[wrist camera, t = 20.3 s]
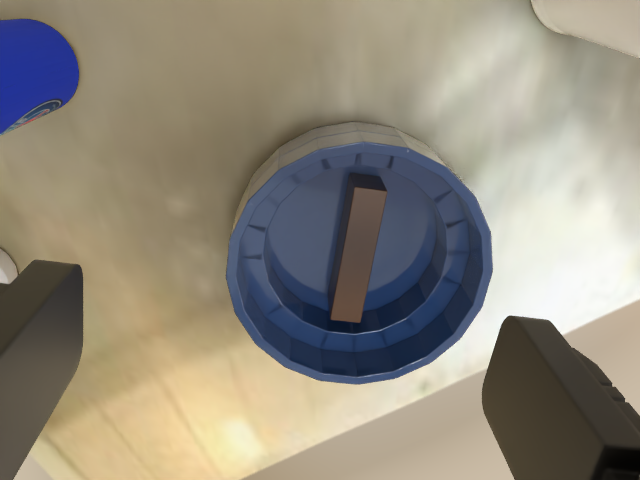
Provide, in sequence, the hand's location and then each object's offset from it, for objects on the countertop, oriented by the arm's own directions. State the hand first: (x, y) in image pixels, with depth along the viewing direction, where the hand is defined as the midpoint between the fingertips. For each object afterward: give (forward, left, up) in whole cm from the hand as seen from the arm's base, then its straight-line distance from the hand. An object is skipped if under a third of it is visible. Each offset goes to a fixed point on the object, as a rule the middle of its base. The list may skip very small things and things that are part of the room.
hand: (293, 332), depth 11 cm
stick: (+5, -8, -26) cm, 27 cm away
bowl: (+5, -8, -26) cm, 28 cm away
